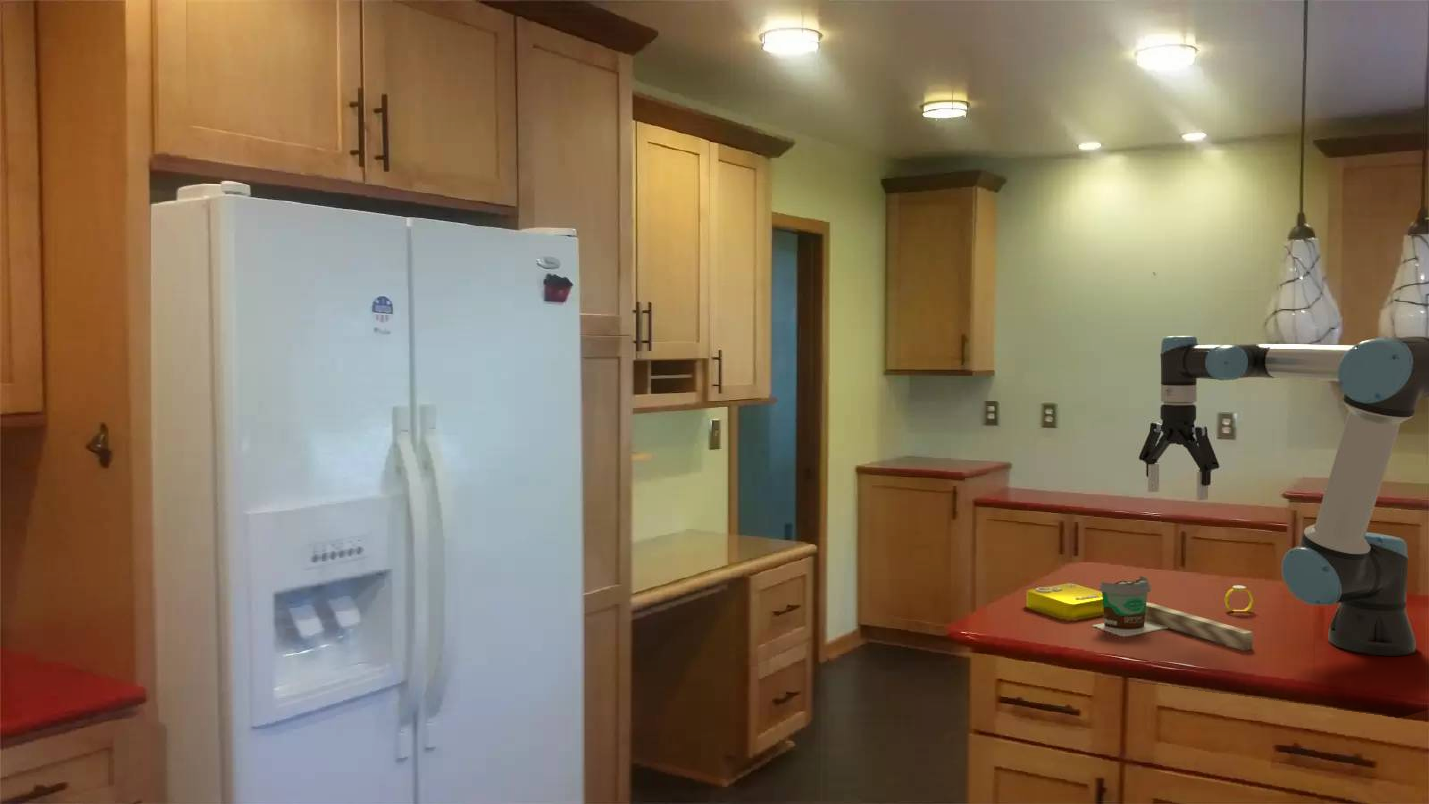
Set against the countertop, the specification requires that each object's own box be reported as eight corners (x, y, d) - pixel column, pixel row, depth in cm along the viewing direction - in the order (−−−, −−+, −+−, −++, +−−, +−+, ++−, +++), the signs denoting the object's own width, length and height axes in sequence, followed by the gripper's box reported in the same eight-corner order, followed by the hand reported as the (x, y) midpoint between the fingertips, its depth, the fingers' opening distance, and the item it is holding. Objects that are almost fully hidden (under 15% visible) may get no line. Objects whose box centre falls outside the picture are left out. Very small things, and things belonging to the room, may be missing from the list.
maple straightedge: (1252, 648, 217) (1252, 631, 216) (1242, 650, 215) (1242, 634, 215) (1136, 614, 244) (1136, 599, 243) (1126, 615, 242) (1126, 600, 242)
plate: (1167, 628, 232) (1167, 627, 232) (1123, 637, 226) (1123, 635, 226) (1135, 618, 240) (1135, 617, 240) (1092, 626, 235) (1092, 625, 235)
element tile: (1068, 623, 239) (1069, 602, 239) (1022, 607, 252) (1022, 588, 252) (1118, 614, 245) (1118, 594, 245) (1070, 599, 259) (1070, 580, 259)
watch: (1228, 614, 243) (1226, 589, 243) (1223, 611, 246) (1222, 586, 245) (1255, 613, 242) (1254, 587, 242) (1251, 609, 245) (1249, 584, 245)
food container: (1120, 634, 228) (1121, 588, 227) (1099, 626, 233) (1099, 581, 233) (1163, 626, 233) (1163, 581, 232) (1141, 619, 238) (1141, 575, 238)
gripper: (1123, 401, 253) (1123, 489, 254) (1213, 407, 230) (1212, 504, 232) (1146, 399, 256) (1145, 487, 257) (1237, 405, 233) (1236, 501, 235)
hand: (1177, 495), depth 244 cm, fingers open, 13 cm apart
